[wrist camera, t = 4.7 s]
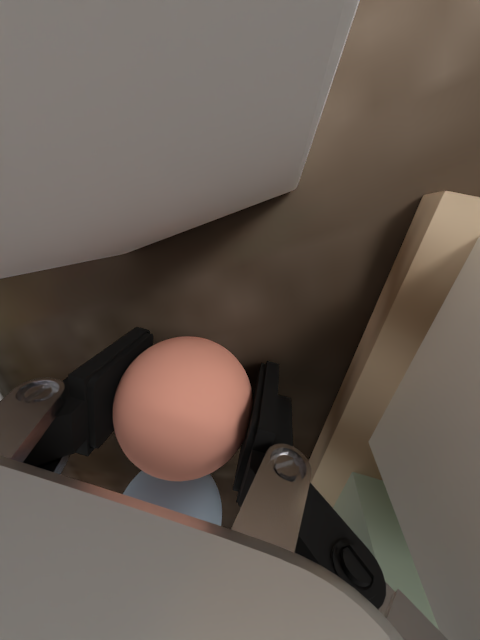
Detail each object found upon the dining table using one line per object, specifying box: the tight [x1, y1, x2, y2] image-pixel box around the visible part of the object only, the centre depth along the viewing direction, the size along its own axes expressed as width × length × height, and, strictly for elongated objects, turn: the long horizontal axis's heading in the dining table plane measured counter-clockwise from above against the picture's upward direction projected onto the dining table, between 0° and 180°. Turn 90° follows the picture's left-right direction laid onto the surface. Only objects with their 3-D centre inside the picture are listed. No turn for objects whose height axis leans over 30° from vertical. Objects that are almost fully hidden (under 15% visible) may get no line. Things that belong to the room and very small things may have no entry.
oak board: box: [309, 191, 480, 508], centre depth 11 cm, size 20×11×1 cm, turn 168°
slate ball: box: [123, 471, 222, 526], centre depth 12 cm, size 5×5×5 cm
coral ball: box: [113, 336, 253, 481], centre depth 10 cm, size 5×5×5 cm
